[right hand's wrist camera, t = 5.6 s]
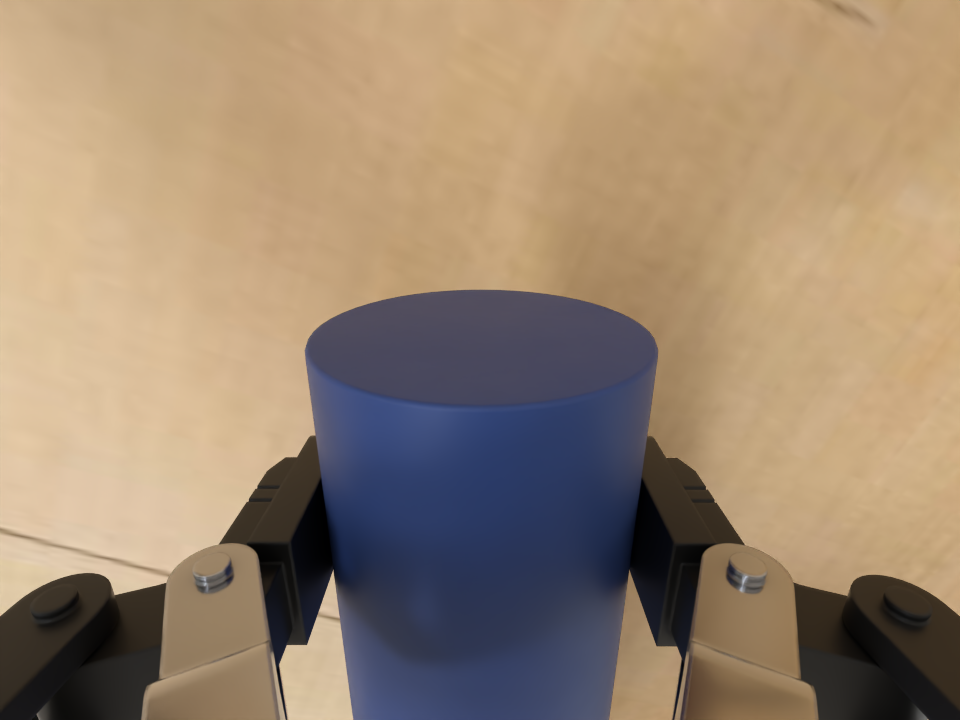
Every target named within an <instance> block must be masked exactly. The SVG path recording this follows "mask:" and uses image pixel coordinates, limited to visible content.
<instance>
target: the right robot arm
mask: <svg viewBox="0 0 960 720" xmlns="http://www.w3.org/2000/svg"><path fill="white" fill-rule="evenodd" d="M629 570H630V572H631V575H632V578H633V581H634V584H635V587H636V589H637V592H638V595H639V598H640V601H641V603H642V606H643V609H644V612H645V615H646V618H647V620H648V623H649V626H650V629H651V632H652V634H653V637H654V640H655V643H656V646H677V647H678V650H679V652H680V655H681V657H682V660H681V665H680V670H679V676H678V682H677V688H676V695H675V701H674V707H673V714H672V720H927V719H928V720H960V616H959V615H957V614H956V613H955V612H954V611H953V610H952V609H950V608H949V607H948V606H947V605H946V604H944V603H943V602H942V601H940V600H939V599H938V598H936V597H935V596H933V595H932V594H930V593H929V592H927V591H925V590H923V589H921V588H919V587H917V586H915V585H913V584H911V583H908V582H905V581H903V580H900V579H896V578H893V577H888V576H882V575H866V576H862V577H859V578H857V579H856V580H855V581H853V583H852V585H851V588H850V590H849V593H848V596H845V595H840V594H836V593H832V592H828V591H823V590H819V589H815V588H810V587H806V586H803V585H799V584H796V583H793V580H792V578H791V576H790V574H789V573H788V571H787V570H786V569H785V568H784V567H783V566H782V565H781V564H780V563H779V562H778V561H776V560H775V559H774V558H772V557H771V556H769V555H767V554H765V553H764V552H762V551H759V550H757V549H755V548H752V547H749V546H745V545H744V543H743V542H742V540H741V539H740V537H739V536H738V534H737V533H736V531H735V530H734V528H733V527H732V525H731V524H730V522H729V521H728V519H727V518H726V516H725V515H724V513H723V512H722V510H721V509H720V507H719V506H718V504H717V503H715V502H714V498H713V497H712V495H711V494H710V492H709V491H708V490H706V486H705V485H704V483H703V482H702V480H701V479H700V477H699V476H698V474H697V473H696V471H694V470H693V469H691V468H690V467H689V466H687V465H686V464H685V463H683V462H682V461H681V460H679V459H678V458H666V457H665V456H664V454H663V452H662V451H661V449H660V447H659V446H658V444H657V442H656V441H655V439H654V438H653V437H652V436H647V441H646V448H645V456H644V463H643V470H642V478H641V485H640V493H639V500H638V508H637V515H636V522H635V530H634V537H633V545H632V552H631V560H630V567H629ZM332 572H333V562H332V554H331V547H330V539H329V532H328V524H327V516H326V509H325V501H324V494H323V486H322V479H321V471H320V464H319V456H318V448H317V441H316V436H310V437H309V438H308V440H307V442H306V443H305V445H304V447H303V448H302V450H301V452H300V453H299V455H298V457H286V458H284V459H283V460H282V461H280V462H279V463H277V464H276V465H275V466H273V467H272V468H271V469H269V470H268V471H267V472H266V474H265V475H264V477H263V478H262V480H261V481H260V483H259V484H258V488H257V489H255V491H254V492H253V494H252V495H251V497H250V498H249V502H247V503H246V504H245V506H244V507H243V509H242V510H241V512H240V513H239V515H238V516H237V518H236V519H235V521H234V522H233V524H232V525H231V527H230V528H229V530H228V531H227V533H226V534H225V536H224V537H223V539H222V540H221V542H220V543H219V545H215V546H211V547H208V548H205V549H203V550H201V551H198V552H196V553H195V554H193V555H191V556H189V557H188V558H186V559H185V560H184V561H182V562H181V563H180V564H179V565H178V566H177V567H176V568H175V569H174V570H173V571H172V573H171V574H170V576H169V578H168V580H167V583H164V584H161V585H157V586H153V587H148V588H144V589H140V590H136V591H131V592H127V593H123V594H118V595H114V592H113V589H112V586H111V583H110V582H109V580H108V579H107V578H106V577H104V576H102V575H100V574H94V573H83V574H75V575H70V576H67V577H63V578H60V579H57V580H55V581H52V582H50V583H47V584H45V585H43V586H41V587H39V588H38V589H36V590H34V591H32V592H31V593H29V594H28V595H26V596H25V597H23V598H22V599H21V600H19V601H18V602H17V603H16V604H14V605H13V606H12V607H11V608H10V609H8V610H7V611H6V612H5V613H4V614H3V615H1V616H0V720H32V718H33V717H34V716H35V715H36V714H37V716H38V718H39V720H288V714H287V707H286V701H285V695H284V688H283V682H282V676H281V670H280V665H279V663H280V661H281V658H282V656H283V653H284V651H285V648H286V645H307V643H308V640H309V637H310V635H311V632H312V629H313V626H314V623H315V620H316V617H317V615H318V612H319V609H320V606H321V603H322V600H323V597H324V594H325V592H326V589H327V586H328V583H329V580H330V577H331V574H332Z"/></svg>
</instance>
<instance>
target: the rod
mask: <svg viewBox="0 0 960 720" xmlns="http://www.w3.org/2000/svg"><path fill="white" fill-rule="evenodd" d="M305 357H306V365H307V373H308V381H309V388H310V396H311V403H312V411H313V418H314V426H315V433H316V441H317V448H318V456H319V464H320V471H321V479H322V486H323V494H324V501H325V509H326V516H327V524H328V532H329V539H330V547H331V554H332V562H333V569H334V577H335V584H336V592H337V599H338V607H339V615H340V622H341V630H342V637H343V645H344V652H345V660H346V667H347V675H348V683H349V690H350V698H351V705H352V713H353V720H609V716H610V708H611V701H612V693H613V686H614V679H615V671H616V664H617V656H618V649H619V641H620V634H621V627H622V619H623V612H624V604H625V597H626V589H627V582H628V574H629V567H630V560H631V552H632V545H633V537H634V530H635V522H636V515H637V508H638V500H639V493H640V485H641V478H642V470H643V463H644V456H645V448H646V441H647V433H648V426H649V418H650V411H651V403H652V396H653V389H654V381H655V374H656V366H657V359H658V348H657V345H656V342H655V339H654V338H653V336H652V335H651V334H650V332H649V331H648V330H647V329H646V328H644V327H643V326H642V325H641V324H639V323H638V322H636V321H635V320H633V319H631V318H629V317H627V316H625V315H623V314H621V313H619V312H616V311H613V310H611V309H608V308H606V307H602V306H599V305H596V304H593V303H589V302H585V301H581V300H577V299H572V298H567V297H562V296H555V295H549V294H541V293H533V292H521V291H506V290H457V291H441V292H430V293H421V294H413V295H407V296H401V297H396V298H391V299H386V300H381V301H378V302H374V303H370V304H367V305H363V306H360V307H357V308H354V309H352V310H349V311H347V312H344V313H342V314H340V315H337V316H335V317H333V318H331V319H330V320H328V321H327V322H325V323H323V324H322V325H321V326H319V327H318V328H317V329H316V330H315V331H314V332H313V333H312V335H311V336H310V337H309V339H308V342H307V345H306V348H305Z"/></svg>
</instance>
